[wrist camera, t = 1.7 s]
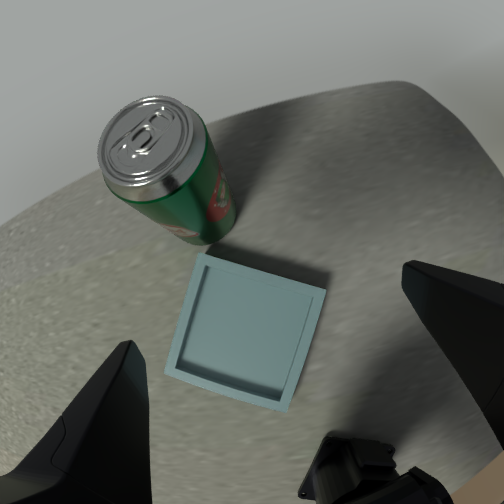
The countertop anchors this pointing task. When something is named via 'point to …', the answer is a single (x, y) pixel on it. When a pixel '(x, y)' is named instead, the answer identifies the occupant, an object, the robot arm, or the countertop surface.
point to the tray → (244, 332)
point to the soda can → (167, 169)
